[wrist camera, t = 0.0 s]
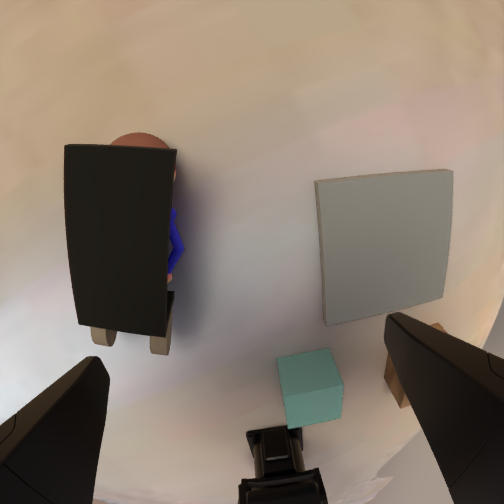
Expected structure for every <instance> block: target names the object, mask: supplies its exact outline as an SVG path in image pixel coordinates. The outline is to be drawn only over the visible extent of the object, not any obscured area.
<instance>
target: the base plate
mask: <svg viewBox="0 0 504 504" xmlns="http://www.w3.org/2000/svg"><path fill="white" fill-rule="evenodd" d="M314 182H315V192H316V203H317V214H318V226H319V240H320V255H321V272H322V292H323V319H324V322H325V324H326V326H330V325H335V324H340V323H345V322H349V321H354V320H358V319H363V318H367V317H371V316H376V315H380V314H384V313H388V312H392V311H396V310H400V309H404V308H407V307H411V306H415V305H419V304H422V303H426V302H429V301H433V300H436V299H440V298H442V297H443V291H444V285H445V279H446V272H447V264H448V256H449V247H450V236H451V224H452V206H453V171H451V170H448V169H437V170H421V171H408V172H395V173H384V174H373V175H363V176H353V177H344V178H335V179H326V180H318V181H314Z"/></svg>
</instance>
